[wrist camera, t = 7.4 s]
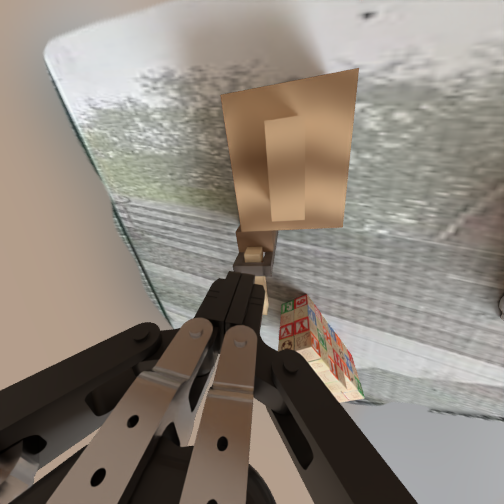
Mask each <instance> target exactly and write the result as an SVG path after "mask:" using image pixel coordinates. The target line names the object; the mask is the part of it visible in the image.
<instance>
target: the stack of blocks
mask: <svg viewBox="0 0 504 504" xmlns="http://www.w3.org/2000/svg"><path fill="white" fill-rule="evenodd" d="M284 349H291V350H294V351H296V352H298V353H300V354H301V355H302V356H303V357H304V358H305V359H306V361H307V362H308V363H309V365H310V366H311V367H312V368H313V370H314V371H315V372H316V373H317V375H318V376H319V377H320V379H321V380H322V381H323V382H324V384H325V385H326V386H327V388H328V389H329V390H330V391H331V393H332V394H333V395H334V397H335V398H336V399H337V400H338V402H346V401H349V400H357V399H364V398H365V397H364V394H363V390H362V387H361V383H360V382H359V378H358V375H357V371H356V368H355V365H354V361H353V358H352V355H351V354H350V353H349V351H348V350H347V349H346V347H345V345H344V344H343V343H342V341H341V340H340V338H339V337H338V336H337V334H336V333H335V332H334V331H333V329H332V328H331V327H330V325H329V324H328V323H327V321H326V320H325V319H324V317H323V316H322V315H321V313H320V311H319V310H318V309H317V307H316V306H315V305H314V303H313V302H312V300H311V299H310V298H309V296H308V295H307V294H306V295H304V296H301V297H299V298H296V299H294V300H292V301H289V302H287V303H284V304H282V307H281V322H280V330H279V346H278V352H279V351H280V350H284Z"/></svg>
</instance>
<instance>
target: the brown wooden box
mask: <svg viewBox="0 0 504 504" xmlns="http://www.w3.org/2000/svg"><path fill="white" fill-rule="evenodd" d="M236 237H237V243H238V249H239V254H238V256H237V258H236V260H235V262H234V264H233V270H234V272H240V273H247V274H253V275H255V276H272V271H273V264H274V257H275V250H276V243H277V237H278V230H270V231H247V232H242V231H241V224H240V226H239V227H238V229H237V231H236ZM247 247H262V249H263V252H265V256H264V260H263V262H245V258H244V253H245V251H246V249H247Z"/></svg>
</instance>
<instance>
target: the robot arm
mask: <svg viewBox="0 0 504 504" xmlns="http://www.w3.org/2000/svg"><path fill="white" fill-rule="evenodd" d="M264 300H265V289H264V287H263V285H259V284H255V275H253V274H247V273H240V272H233V271H229V272H228V275H227V277H226V279H220V278H219V279H217V280H216V281H215V282H214V283H212V285H211V287H210V289H209V291H208V293H207V295H206V297H205V298H204V300H203V302H202V304H201V306H200V308H199V309H198V311H197V313H196V315H195V317H194V318H193V319H190V320H188V321H187V322H185V323H184V324H183V325H182V327H181V328H178V329H173V330H164V331H160V329H159V327H158V326H157V325H156V324H154V323H151V322H145V323H141V324H138V325H136V326H134V327H132V328H129V329H128V330H126V331H124V332H121V333H119V334H117V335H115V336H113V337H111V338H109V339H107V340H105V341H103V342H100V343H98V344H96V345H94V346H92V347H90V348H88V349H86V350H84V351H82V352H80V353H78V354H75V355H74V356H71V357H69V358H67V359H65V360H63V361H61V362H59V363H57V364H55V365H53V366H51V367H49V368H46V369H44V370H42V371H40V372H38V373H36V374H34V375H32V376H30V377H28V378H26V379H24V380H22V381H19V382H17V383H15V384H13V385H11V386H9V387H7V388H5V389H3V390H1V391H0V504H276V502H275V500H274V497H273V496H272V494H271V491H270V489H269V488H268V486H267V484H266V483H265V481H264V480H263V478H262V477H261V476H260V475H259V473H258V472H257V471H256V470H255V469H254V468H253V467H252V466H251V465H250V464H249V451H250V437H251V424H252V409H253V397H254V398H255V399H257V400H258V401H260V402H262V403H263V404H264V405H266V408H267V411H268V412H269V415H270V417H271V419H272V421H273V423H274V425H275V427H276V429H277V430H278V432H279V435H280V436H281V438H282V440H283V442H284V444H285V446H286V448H287V450H288V452H289V454H290V456H291V458H292V460H293V462H294V464H295V466H296V468H297V470H298V472H299V474H300V476H301V478H302V480H303V482H304V484H305V486H306V488H307V490H308V492H309V494H310V496H311V498H312V500H313V502H314V504H418V503H417V502H416V500H415V499H414V498H413V497H412V495H411V494H410V493H409V492H408V490H407V489H406V488H405V486H404V485H403V484H402V483H401V481H400V480H399V479H398V477H397V476H396V475H395V473H394V472H393V471H392V470H391V468H390V467H389V466H388V465H387V463H386V462H385V461H384V459H383V458H382V457H381V456H380V454H379V453H378V452H377V450H376V449H375V448H374V447H373V445H372V444H371V443H370V441H369V440H368V439H367V438H366V436H365V435H364V434H363V432H362V431H361V430H360V429H359V428H358V426H357V425H356V424H355V422H354V421H353V420H352V419H351V417H350V416H349V415H348V413H347V412H346V411H345V410H344V408H343V407H342V406H341V405H340V403H339V402H338V400H337V399H336V398H335V397H334V395H333V394H332V393H331V391H330V390H329V389H328V388H327V386H326V385H325V384H324V382H323V381H322V380H321V379H320V377H319V376H318V375H317V373H316V372H315V371H314V370H313V368H312V367H311V366H310V365H309V363H308V362H307V361H306V359H305V358H304V357H303V356H302V355H301V354H300V353H298V352H296V351H294V350H291V349H284V350H280V351H279V352H278V351H276V350H274V349H272V348H271V347H269V346H268V345H266V344H265V343H264V342H263V340H262V339H261V337H260V328H261V321H262V315H263V308H264ZM499 308H500V310H501V312H502V315H501V317H500V318H501V319H502V320H504V296H503V297H502V298H501V300H500V303H499ZM218 354H220V357H219V361H218V365H217V369H216V374H215V377H214V381H213V385H212V387H210V389H209V391H208V394H207V397H206V401H205V405H204V409H203V413H202V417H201V421H200V425H199V428H198V432H197V436H196V440H195V444H194V446H187V445H188V442H189V440H190V437H191V434H192V430H193V425H194V420H195V417H196V413H197V411H198V408H199V406H200V403H201V401H202V399H203V396H204V394H205V391H206V389H207V386H208V384H209V381H210V379H211V377H212V374H213V372H214V368H215V362H216V359H217V356H218ZM99 427H101V428H100V429H99V430H98V432H97V433H96V435H95V436H94V437H93V439H92V440H91V442H90V443H89V444H88V445H86V446H85V447H83V448H82V449H80V450H79V451H77V452H76V453H75V454H74V455H73V456H71V457H70V458H68V459H67V460H66V461H64V462H63V463H62V464H60V465H59V466H58V467H56V468H55V469H54V470H52V471H51V472H49V473H48V474H47V475H45V476H44V477H43V478H41V479H40V480H39V481H37V482H36V483H35V484H33V483H34V476H35V474H36V472H37V471H38V470H39V469H40V468H42V467H43V466H45V465H46V464H48V463H49V462H51V461H52V460H53V459H55V458H56V457H58V456H59V455H60V454H62V453H63V452H65V451H66V450H68V449H69V448H71V447H72V446H74V445H75V444H76V443H78V442H79V441H81V440H82V439H84V438H85V437H87V436H88V435H89V434H91V433H92V432H94V431H95V430H97V429H98V428H99Z"/></svg>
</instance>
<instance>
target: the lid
mask: <svg viewBox="0 0 504 504" xmlns="http://www.w3.org/2000/svg"><path fill="white" fill-rule="evenodd" d="M358 72H359V68H356V69H351V70H346V71H341V72H336V73H330V74H325V75H320V76H315V77H310V78H305V79H300V80H295V81H289V82H284V83H279V84H274V85H269V86H264V87H259V88H254V89H248V90H243V91H238V92H233V93H228V94H223V95H220V96H221V102H222V109H223V115H224V121H225V128H226V134H227V141H228V147H229V154H230V160H231V166H232V173H233V179H234V186H235V192H236V199H237V205H238V212H239V218H240V224H241V231H242V232H247V231H270V230H293V229H316V228H339V227H343V218H344V209H345V199H346V189H347V179H348V170H349V160H350V150H351V141H352V131H353V121H354V111H355V102H356V92H357V82H358Z"/></svg>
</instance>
